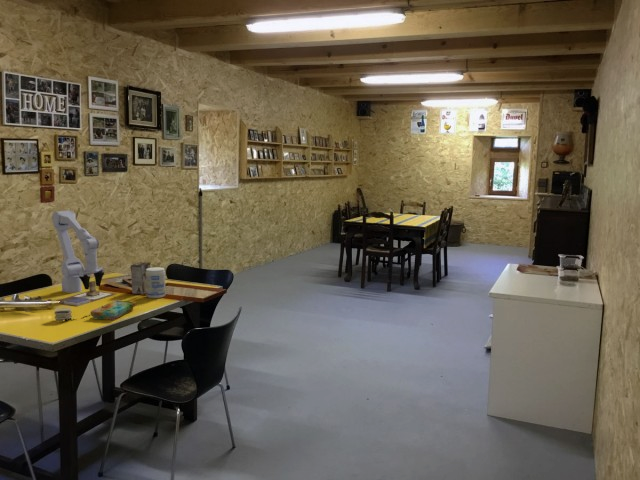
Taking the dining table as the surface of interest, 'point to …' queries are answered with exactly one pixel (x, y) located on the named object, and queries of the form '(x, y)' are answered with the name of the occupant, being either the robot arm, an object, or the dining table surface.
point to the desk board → (84, 298)
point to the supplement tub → (155, 282)
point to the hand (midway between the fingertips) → (92, 287)
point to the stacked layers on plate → (62, 313)
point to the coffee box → (139, 277)
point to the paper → (92, 296)
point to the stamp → (92, 289)
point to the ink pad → (77, 301)
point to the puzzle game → (113, 310)
